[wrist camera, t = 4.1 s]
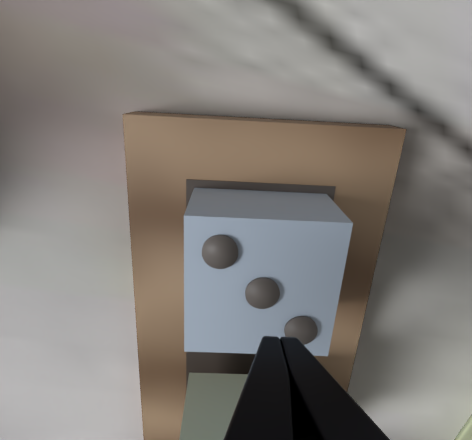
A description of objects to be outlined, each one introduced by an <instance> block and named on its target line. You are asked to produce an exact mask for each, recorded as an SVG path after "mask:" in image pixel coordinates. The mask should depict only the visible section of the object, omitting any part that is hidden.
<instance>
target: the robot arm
mask: <svg viewBox="0 0 472 440" xmlns="http://www.w3.org/2000/svg"><path fill="white" fill-rule="evenodd" d="M223 440H390V439H389V438H388V437H387V436H386V435H385V434H384V433H383V432H382V430H381V429H380V428H379V427H378V426H377V425H376V424H375V423H374V422H373V421H372V419H371V418H370V417H369V416H368V415H367V414H366V413H365V412H364V411H363V410H362V408H361V407H360V406H359V405H358V404H357V403H356V402H355V401H354V400H353V399H352V397H351V396H350V395H349V394H348V393H347V392H346V391H345V390H344V389H343V388H342V386H341V385H340V384H339V383H338V382H337V381H336V380H335V379H334V378H333V377H332V375H331V374H330V373H329V372H328V371H327V370H326V369H325V368H324V367H323V366H322V364H321V363H320V362H319V361H318V360H317V359H316V358H315V357H314V356H313V354H312V353H311V352H310V351H309V350H308V349H307V348H306V347H305V346H304V345H303V343H302V342H301V341H300V340H299V339H298V338H296V337H281V338H280V339H279V337H277V336H263V337H262V339H261V342H260V344H259V347H258V350H257V352H256V355H255V357H254V360H253V363H252V365H251V368H250V371H249V373H248V376H247V379H246V381H245V384H244V387H243V389H242V392H241V394H240V397H239V400H238V402H237V405H236V408H235V410H234V413H233V416H232V418H231V421H230V424H229V426H228V429H227V432H226V434H225V437H224V439H223Z"/></svg>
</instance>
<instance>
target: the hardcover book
mask: <svg viewBox="0 0 472 440" xmlns="http://www.w3.org/2000/svg"><path fill="white" fill-rule="evenodd" d="M454 440H472V415H471V416H470V418H469V419H468V421H467V422H466V423H465V425H464V426H463V428H462V429H461V431H460V432H459V434H458V435H457V437H456V438H455V439H454Z"/></svg>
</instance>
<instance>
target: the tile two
mask: <svg viewBox="0 0 472 440" xmlns="http://www.w3.org/2000/svg"><path fill="white" fill-rule="evenodd" d="M247 376H248V374H220V373H189V377H188V384H187V391H186V398H185V404H184V411H183V418H182V424H181V431H180V438H179V440H223V439H224V437H225V434H226V432H227V429H228V426H229V424H230V421H231V418H232V416H233V413H234V410H235V408H236V405H237V402H238V400H239V397H240V394H241V392H242V389H243V387H244V384H245V381H246V379H247Z"/></svg>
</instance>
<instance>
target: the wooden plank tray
mask: <svg viewBox="0 0 472 440" xmlns="http://www.w3.org/2000/svg"><path fill="white" fill-rule="evenodd" d="M123 127H124V143H125V158H126V174H127V189H128V204H129V220H130V235H131V251H132V266H133V282H134V297H135V312H136V328H137V343H138V359H139V374H140V390H141V405H142V421H143V436H144V440H179V438H180V431H181V424H182V418H183V411H184V404H185V398H186V391H187V384H188V377H189V373H220V374H248V373H249V371H250V368H251V365H252V363H253V360H254V357H255V355H256V354H246V353H215V352H184V214H185V211H186V208H187V206H188V203H189V200H190V198H191V195H192V192H193V190H194V188H211V189H232V190H254V191H275V192H296V193H318V194H327V195H328V196H329V197H330V198H331V199H332V200H333V201H334V203H335V204H336V205H337V206H338V207H339V208H340V209H341V210H342V211H343V212H344V214H345V215H346V216H347V217H348V218H349V219H350V220H351V221H352V222H353V227H352V232H351V237H350V242H349V248H348V253H347V258H346V263H345V269H344V274H343V279H342V285H341V290H340V295H339V300H338V306H337V311H336V316H335V322H334V327H333V332H332V337H331V343H330V348H329V353H328V356H314V357H315V358H316V359H317V360H318V361H319V362H320V363H321V364H322V366H323V367H324V368H325V369H326V370H327V371H328V372H329V373H330V374H331V375H332V377H333V378H334V379H335V380H336V381H337V382H338V383H339V384H340V385H341V386H342V388H343V389H344V390H345V391H346V392H347V390H348V386H349V381H350V377H351V373H352V368H353V364H354V359H355V355H356V350H357V346H358V342H359V337H360V333H361V328H362V324H363V319H364V315H365V311H366V306H367V302H368V297H369V293H370V288H371V284H372V280H373V275H374V271H375V266H376V262H377V257H378V253H379V249H380V244H381V240H382V235H383V231H384V226H385V222H386V218H387V213H388V209H389V204H390V200H391V195H392V191H393V187H394V182H395V178H396V173H397V169H398V164H399V160H400V156H401V151H402V147H403V142H404V138H405V133H406V129H403V128H399V127H394V126H390V125H377V124H359V123H340V122H321V121H302V120H284V119H265V118H246V117H227V116H209V115H190V114H171V113H153V112H130V113H126V114H123Z"/></svg>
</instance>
